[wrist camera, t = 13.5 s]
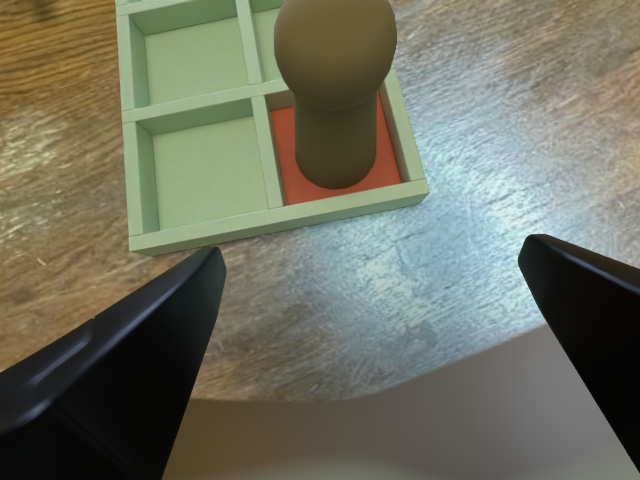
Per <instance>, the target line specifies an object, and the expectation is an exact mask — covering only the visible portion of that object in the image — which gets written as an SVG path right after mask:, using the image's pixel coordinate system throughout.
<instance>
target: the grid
mask: <svg viewBox="0 0 640 480" xmlns="http://www.w3.org/2000/svg"><path fill="white" fill-rule="evenodd" d="M283 1H284V0H115V6H116V22H117V39H118V57H119V74H120V91H121V109H122V124H123V125H122V126H123V144H124V161H125V179H126V196H127V213H128V231H129V251H130V252H134V253H139V254H143V255H148V256H157V255H162V254H167V253H172V252H177V251H182V250H187V249H192V248H197V247H203V246H208V245H213V244H218V243H223V242H228V241H233V240H238V239H243V238H249V237H254V236H259V235H264V234H269V233H274V232H279V231H284V230H289V229H295V228H300V227H305V226H310V225H315V224H320V223H325V222H330V221H335V220H341V219H346V218H351V217H356V216H361V215H366V214H371V213H376V212H381V211H387V210H392V209H397V208H402V207H407V206H412V205H417V204H420V203H421V202H422V201H423V199H424V198H425V197H426V196H427V195H428V194H429V193H430V192H429V188H428V185H427V181H426V179H425V175H424V171H423V168H422V164H421V160H420V157H419V153H418V150H417V146H416V142H415V139H414V135H413V131H412V128H411V124H410V121H409V117H408V113H407V110H406V106H405V103H404V99H403V95H402V92H401V88H400V84H399V81H398V77H397V74H396V70H395V66H394V62H393V61H392V65H391V69H390V71H389V73H388V75H387V76H386V78H385V80H384V81H383V83H382V84H381V86H380V87H379V89H378V90H377V140H376V157H375V161H374V166H373V167H372V169H371V170H370V172H369V173H368V175H367V176H366V177H365V178H364V179H362V180H361V181H360V182H359V183H357V184H355V185H353V186H350V187H348V188H345V189H335V190H331V189H326V188H322V187H318V186H317V185H315V184H313V183H312V182H310V181H308V180H307V179H306V177H305V176H304V175H303V174H302V173H301V172H300V170H299V167H298V165H297V162H296V157H295V125H294V93H293V92H292V91H291V90H290V89H289V88H288V86H287V85H286V83H285V82H284V80H283V78H282V76H281V73H280V71H279V69H278V66H277V63H276V59H275V56H274V25H275V22H276V19H277V16H278V13H279V10H280V8H281V6H282V3H283Z"/></svg>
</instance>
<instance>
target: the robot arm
mask: <svg viewBox="0 0 640 480" xmlns="http://www.w3.org/2000/svg"><path fill="white" fill-rule="evenodd" d="M518 265H519V268H520V270H521V272H522V274H523V276H524V278H525V281H526V283H527V285H528V287H529V289H530V291H531V293H532V295H533V297H534V300H535V302H536V304H537V306H538V308H539V310H540V311H541V313H542V315H543V317H544V318H545V320H546V322H547V323H548V325H549V326H550V328H551V330H552V331H553V333H554V335H555V336H556V338H557V339H558V341H559V343H560V344H561V346H562V348H563V349H564V351H565V352H566V354H567V356H568V357H569V359H570V361H571V362H572V364H573V365H574V367H575V369H576V370H577V372H578V374H579V375H580V377H581V379H582V380H583V382H584V383H585V385H586V387H587V388H588V390H589V392H590V393H591V395H592V396H593V398H594V400H595V401H596V403H597V405H598V406H599V408H600V410H601V411H602V413H603V414H604V416H605V418H606V419H607V421H608V423H609V424H610V426H611V427H612V429H613V431H614V432H615V434H616V436H617V437H618V439H619V440H620V442H621V444H622V445H623V447H624V448H625V450H626V452H627V453H628V455H629V457H630V458H631V460H632V462H633V463H634V465H635V467H636V468H637V470H638V471H639V473H640V269H638V268H635V267H633V266H630V265H627V264H625V263H622V262H619V261H617V260H614V259H611V258H609V257H606V256H603V255H601V254H598V253H595V252H593V251H590V250H587V249H585V248H582V247H579V246H577V245H574V244H571V243H568V242H566V241H563V240H560V239H558V238H555V237H552V236H550V235H547V234H531V235H529V236H527V237H526V239H525V241H524V244H523V246H522V249H521V251H520V254H519V256H518ZM225 278H226V266H225V263H224V260H223V256H222V253H221V250H220V248H219V247H217V246H212V247H204V248H202V249H200V250H199V251H197V252H196V253H194V254H192V255H191V256H189V257H188V258H186V259H185V260H183V261H181V262H180V263H178V264H177V265H175V266H173V267H172V268H170V269H169V270H167V271H166V272H164V273H162V274H161V275H159V276H158V277H156V278H155V279H153V280H151V281H150V282H148V283H147V284H145V285H143V286H142V287H140V288H139V289H137V290H136V291H134V292H132V293H131V294H129V295H128V296H126V297H125V298H123V299H121V300H120V301H118V302H117V303H115V304H113V305H112V306H110V307H109V308H107V309H106V310H104V311H102V312H101V313H99V314H98V315H96V316H95V317H94V319H93V318H92V319H90V320H88V321H87V322H85V323H83V324H82V325H80V326H79V327H77V328H76V329H74V330H72V331H71V332H69V333H67V334H66V335H64V336H62V337H61V338H59V339H58V340H56V341H54V342H53V343H51V344H49V345H48V346H46V347H44V348H42V349H41V350H39V351H37V352H36V353H34V354H32V355H30V356H29V357H27V358H25V359H23V360H22V361H20V362H18V363H16V364H15V365H13V366H11V367H9V368H8V369H6V370H4V371H2V372H1V373H0V480H161V479H162V476H163V473H164V470H165V467H166V465H167V462H168V459H169V456H170V453H171V450H172V447H173V444H174V441H175V439H176V436H177V433H178V430H179V427H180V424H181V421H182V418H183V415H184V412H185V410H186V407H187V403H188V401H189V398H190V395H191V392H192V389H193V386H194V383H195V381H196V378H197V375H198V372H199V369H200V366H201V363H202V360H203V357H204V354H205V351H206V349H207V346H208V343H209V340H210V337H211V334H212V331H213V328H214V325H215V322H216V319H217V315H218V311H219V306H220V302H221V297H222V292H223V288H224V283H225Z"/></svg>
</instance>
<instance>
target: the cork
mask: <svg viewBox="0 0 640 480" xmlns="http://www.w3.org/2000/svg"><path fill="white" fill-rule="evenodd" d="M396 45H397V30H396V22H395V15H394V12H393V10H392V8H391V6H390V4H389V2H388V0H284V1H283V3H282V6H281V8H280V10H279V13H278V16H277V19H276V22H275V25H274V56H275V59H276V63H277V66H278V69H279V71H280V73H281V76H282V78H283V80H284V82H285V83H286V85H287V86H288V88H289V89H290V90H291V91H292V92H293V93H294V125H295V157H296V162H297V165H298V167H299V170H300V172H301V173H302V174H303V175H304V176H305V177H306V179H307V180H308V181H310V182H312V183H313V184H315V185H317V186H318V187H322V188H326V189H331V190H335V189H345V188H348V187H350V186H353V185H355V184H357V183H359V182H360V181H361V180H362V179H364V178H365V177H366V176H367V175H368V173H369V172H370V170H371V169H372V167H373V166H374V161H375V157H376V140H377V90H378V89H379V87H380V86H381V84H382V83H383V81H384V80H385V78H386V76H387V75H388V73H389V71H390V69H391V65H392V61H393V57H394V53H395V49H396Z"/></svg>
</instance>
